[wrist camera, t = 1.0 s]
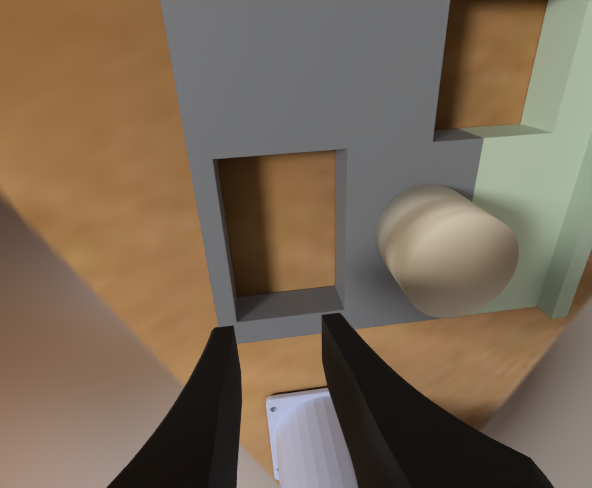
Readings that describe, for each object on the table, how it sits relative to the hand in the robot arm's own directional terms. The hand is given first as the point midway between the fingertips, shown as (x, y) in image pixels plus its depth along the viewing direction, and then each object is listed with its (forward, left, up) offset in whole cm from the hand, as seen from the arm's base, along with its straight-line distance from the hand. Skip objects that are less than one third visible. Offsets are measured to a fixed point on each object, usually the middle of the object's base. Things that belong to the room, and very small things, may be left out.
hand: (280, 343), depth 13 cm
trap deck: (+2, -7, -9) cm, 12 cm away
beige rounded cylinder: (0, -8, -7) cm, 11 cm away
